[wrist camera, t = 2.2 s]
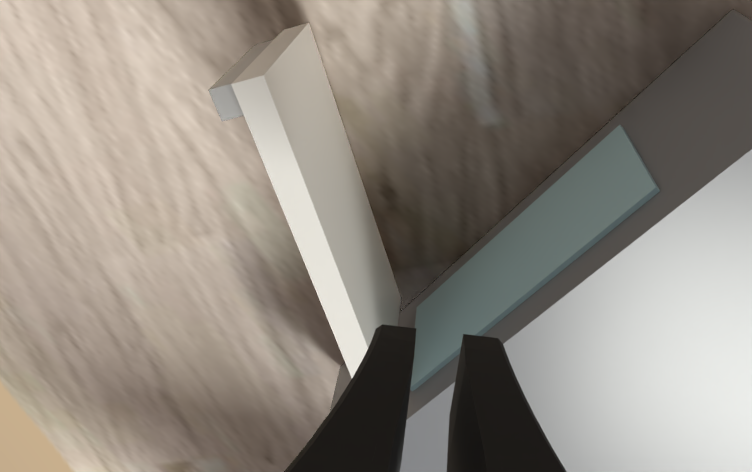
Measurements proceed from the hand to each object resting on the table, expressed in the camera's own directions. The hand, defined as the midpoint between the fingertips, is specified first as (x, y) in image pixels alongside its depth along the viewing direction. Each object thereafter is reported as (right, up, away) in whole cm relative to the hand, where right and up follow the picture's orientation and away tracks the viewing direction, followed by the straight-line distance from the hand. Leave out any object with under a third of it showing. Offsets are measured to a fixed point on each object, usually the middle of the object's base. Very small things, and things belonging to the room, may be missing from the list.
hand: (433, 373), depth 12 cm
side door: (-2, +4, +9) cm, 11 cm away
